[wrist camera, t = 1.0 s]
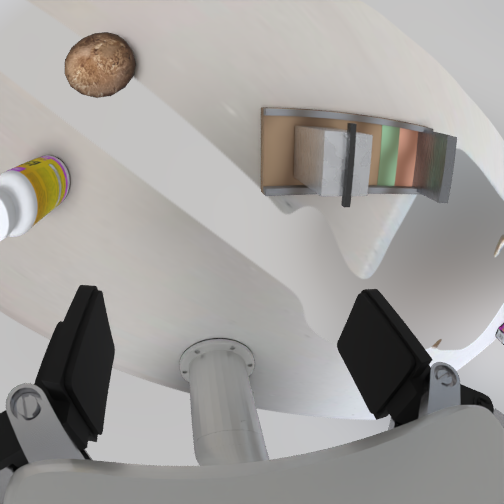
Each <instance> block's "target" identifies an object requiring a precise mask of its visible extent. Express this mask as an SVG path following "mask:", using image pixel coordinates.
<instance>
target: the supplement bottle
mask: <svg viewBox="0 0 504 504" xmlns="http://www.w3.org/2000/svg"><path fill="white" fill-rule="evenodd" d="M69 185H70V180H69V174H68V171H67V168H66V167H65V165H64V164H63V162H62V161H61V160H59V159H58V158H56V157H54V156H49V155H47V156H42V157H39V158H36V159H34V160H31V161H29V162H26V163H24V164H21V165H19V166H17V167H15V168H12V169H10V170H8V171H6V172H3V173H2V174H0V241H2V240H3V239H5V238H6V237H7V236H11V237H16V236H20V235H23V234H25V233H26V232H27V231H28V230H29V229H30V228H32V227H33V226H34V225H35V224H36V223H37V222H38V221H40V220H41V219H42V218H43V217H44V216H46V215H47V214H48V213H49V212H51V211H52V210H53V209H54V208H56V207H57V206H58V205H59V204H60V203H62V201H63V200H64V199H65V197H66V196H67V193H68V190H69Z"/></svg>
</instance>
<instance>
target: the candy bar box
mask: <svg viewBox="0 0 504 504" xmlns="http://www.w3.org/2000/svg"><path fill="white" fill-rule="evenodd" d="M496 337H497V338H498V339H499V341H500V342H501V343H502V344H503V345H504V323H503V324H502V325H501V326H500V327H499V328H498V330H497V333H496Z"/></svg>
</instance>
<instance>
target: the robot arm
mask: <svg viewBox="0 0 504 504" xmlns="http://www.w3.org/2000/svg"><path fill="white" fill-rule="evenodd" d="M337 348H338V351H339V353H340V355H341V357H342V358H343V360H344V362H345V364H346V366H347V368H348V370H349V372H350V374H351V376H352V378H353V380H354V382H355V384H356V386H357V387H358V389H359V391H360V393H361V395H362V397H363V399H364V401H365V403H366V405H367V407H368V409H369V411H370V412H371V413H372V414H374V416H375V418H376V420H377V419H380V418H383V417H386V416H388V414H390V415H391V420H390V424H389V428H388V431H385V432H382V433H380V434H376V435H373V436H370V437H367V438H364V439H361V440H357V441H354V442H351V443H347V444H344V445H340V446H336V447H332V448H328V449H324V450H320V451H316V452H311V453H306V454H301V455H296V456H291V457H285V458H279V459H273V460H269V456H268V453H267V450H266V446H265V442H264V438H263V435H262V430H261V426H260V422H259V418H258V414H257V410H256V406H255V402H254V398H253V391H252V389H251V385H250V381H249V376H250V375H251V374H252V372H253V370H254V366H255V362H254V358H253V355H252V353H251V351H250V350H249V349H248V348H247V347H246V346H244V345H243V344H241V343H238V342H236V341H232V340H227V339H212V340H206V341H203V342H200V343H197V344H195V345H193V346H191V347H190V348H189V349H187V350H186V351H185V352H184V353H183V355H182V357H181V359H180V373H181V375H182V377H183V378H184V379H185V380H186V381H187V382H188V383H190V398H191V399H190V400H191V415H192V428H193V440H194V450H195V456H196V459H197V461H198V463H199V465H200V466H154V465H137V464H124V463H116V462H104V461H93V460H92V458H91V457H90V455H89V454H88V453H87V451H86V450H85V448H87V444H88V443H87V442H88V441H94V442H97V435H98V434H99V435H101V434H102V432H103V424H104V416H105V409H106V401H107V394H108V388H109V382H110V376H111V370H112V365H113V360H114V354H115V348H114V343H113V339H112V335H111V331H110V326H109V322H108V317H107V313H106V308H105V303H104V298H103V293H102V291H99V290H98V289H97V287H96V286H88V285H80V286H79V288H78V290H77V292H76V294H75V297H74V299H73V301H72V303H71V305H70V307H69V310H68V312H67V314H66V316H65V319H64V321H63V322H61V321H60V322H59V323H58V324H57V326H56V328H55V330H54V333H53V335H52V338H51V340H50V343H49V345H48V348H47V350H46V353H45V355H44V358H43V361H42V363H41V366H40V369H39V372H38V375H37V378H36V380H35V384H31V383H30V384H29V383H28V384H27V383H26V384H25V383H24V384H21V385H18V386H16V387H15V388H13V389H12V390H11V392H10V393H9V394H8V397H7V399H6V411H4V412H2V413H0V504H504V415H503V414H502V413H501V412H499V411H498V410H496V409H495V410H494V408H493V404H492V401H491V400H490V398H489V397H488V396H486V395H485V394H483V393H481V392H478V391H476V390H473V389H471V388H468V387H466V386H464V385H461V384H460V379H459V375H458V373H457V372H456V370H455V369H454V368H453V367H451V366H450V365H448V364H446V363H443V362H437V363H434V364H433V365H432V367H431V368H430V366H429V364H430V362H431V361H432V358H431V357H430V356H429V354H428V353H427V351H426V350H425V349H424V347H423V346H422V345H421V343H420V342H419V341H418V339H417V338H416V337H415V336H414V334H413V333H412V332H411V331H410V329H409V328H408V326H407V325H406V324H405V323H404V321H403V320H402V319H401V318H400V316H399V315H398V314H397V313H396V311H395V310H394V309H393V308H392V306H391V305H390V304H389V303H388V301H387V300H386V299H385V298H384V297H383V295H382V294H381V293H380V292H379V291H378V290H377V289H368V290H367V289H366V290H363V291H362V292H361V293H360V294H359V295H358V296H357V298H356V301H355V303H354V306H353V308H352V311H351V313H350V315H349V318H348V320H347V322H346V324H345V327H344V329H343V331H342V334H341V336H340V338H339V340H338V343H337Z"/></svg>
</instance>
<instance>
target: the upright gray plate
mask: <svg viewBox="0 0 504 504" xmlns="http://www.w3.org/2000/svg"><path fill="white" fill-rule="evenodd" d="M456 142H457V137H453V136H450V135H446V134H441V133H437V132H433V131H428V130H423V132H419V131H418V139H417V151H416V160H415V169H414V176H413V184H412V187H414V188H416V189H417V191H416V192H418V193H420V194H422V195H424V196H427V197H428V198H430V199H432V200H434V201H436V202H439V203H448V199H449V193H450V188H451V181H452V175H453V168H454V160H455V151H456Z"/></svg>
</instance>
